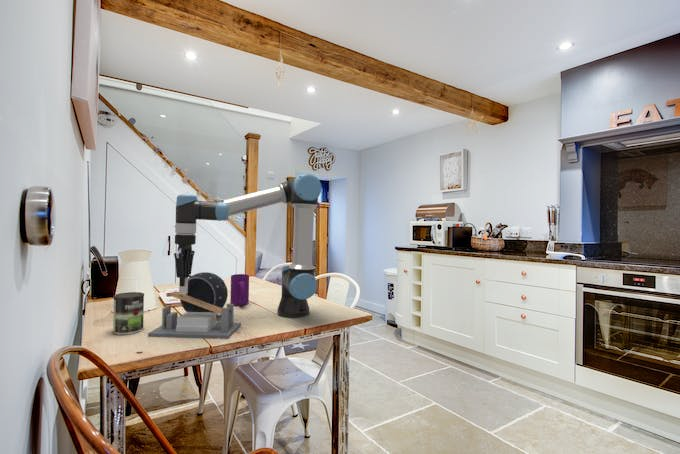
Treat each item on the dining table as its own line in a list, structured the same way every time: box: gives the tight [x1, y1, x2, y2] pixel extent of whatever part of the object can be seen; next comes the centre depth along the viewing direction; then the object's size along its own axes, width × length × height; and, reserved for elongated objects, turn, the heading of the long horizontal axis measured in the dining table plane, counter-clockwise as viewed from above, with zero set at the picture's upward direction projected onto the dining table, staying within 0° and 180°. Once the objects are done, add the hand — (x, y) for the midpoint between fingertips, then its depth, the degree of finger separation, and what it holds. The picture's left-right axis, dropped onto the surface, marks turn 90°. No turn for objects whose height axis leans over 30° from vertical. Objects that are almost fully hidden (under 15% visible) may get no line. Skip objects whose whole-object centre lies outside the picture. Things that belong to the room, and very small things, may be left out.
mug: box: [229, 273, 250, 307], centre depth 179 cm, size 9×16×15 cm, turn 24°
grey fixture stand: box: [147, 303, 242, 340], centre depth 138 cm, size 30×16×10 cm, turn 89°
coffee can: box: [112, 291, 145, 336], centre depth 137 cm, size 10×10×14 cm
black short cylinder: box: [179, 271, 229, 314], centre depth 157 cm, size 11×20×20 cm, turn 78°
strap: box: [169, 290, 232, 315], centre depth 138 cm, size 24×4×2 cm, turn 90°
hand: (183, 293), depth 138 cm, fingers closed
